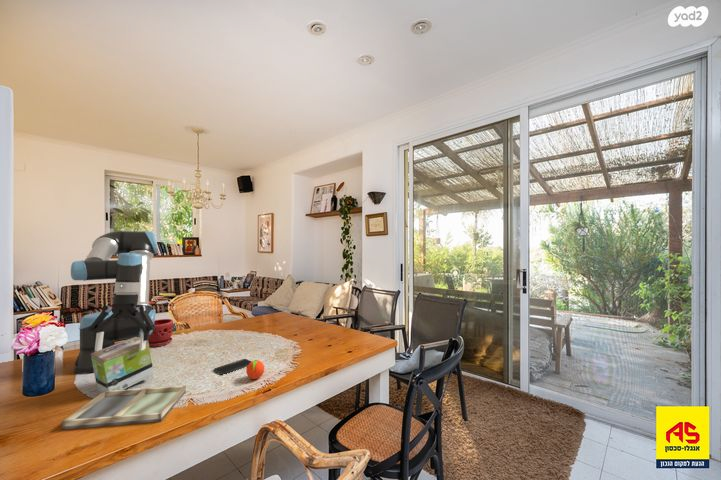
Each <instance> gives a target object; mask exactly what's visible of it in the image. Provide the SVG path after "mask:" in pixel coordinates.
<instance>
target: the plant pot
mask: <svg viewBox="0 0 721 480" xmlns="http://www.w3.org/2000/svg"><path fill="white" fill-rule="evenodd" d="M154 325H155V327H156V328H155V329H153V331H152V333H151V334H150V335H149V339H148V340H147V341H148V343H149V347H151V348H152V347H153V348H155V347H156V348H157V347H163V346H166V345H168V344H170V343H171V342H172V341H173V337H172V335H173V332H174V331H173V330H174V320H173V319H170V318H162V319H161V318H160V319H155V322H154Z"/></svg>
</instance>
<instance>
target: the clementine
mask: <svg viewBox="0 0 721 480" xmlns="http://www.w3.org/2000/svg"><path fill="white" fill-rule="evenodd" d="M251 361H252V362H250V363H249V365H248V366H247V367H246V368H245V369H246V373H245V374H246V375H247V377H248V378H250V379H252V380H256V379H257V380H258V379H259V378H261V377H262V376H263V375H264V373H265V365H264V363H263V362H262V361H261V360H259V359H257V360H256V359H255V360H251Z"/></svg>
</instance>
